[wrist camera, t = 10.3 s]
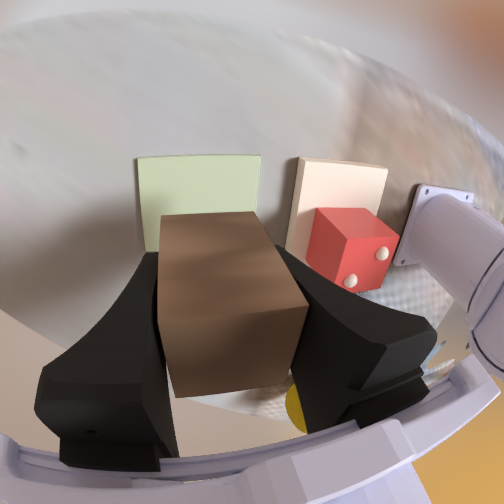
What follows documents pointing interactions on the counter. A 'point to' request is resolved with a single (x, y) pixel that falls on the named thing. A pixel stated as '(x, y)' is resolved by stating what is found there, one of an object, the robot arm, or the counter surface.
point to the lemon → (295, 409)
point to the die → (351, 247)
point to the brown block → (225, 304)
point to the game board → (251, 190)
